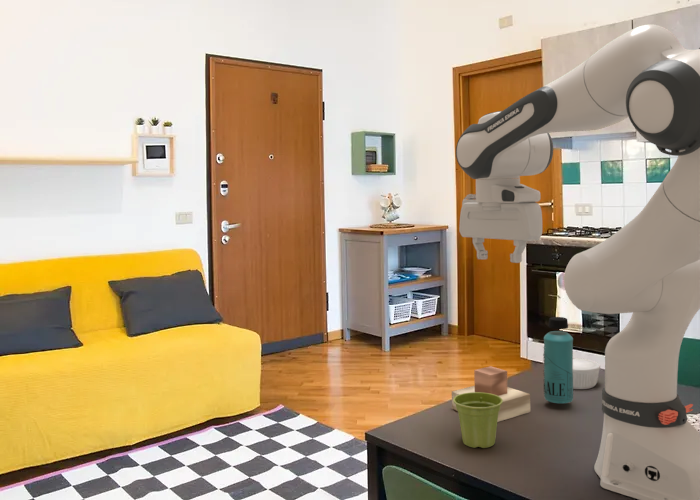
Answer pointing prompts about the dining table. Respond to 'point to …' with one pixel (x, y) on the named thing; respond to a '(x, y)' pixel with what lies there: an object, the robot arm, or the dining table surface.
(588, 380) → the ramekin
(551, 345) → the beverage bottle
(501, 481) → the dining table surface
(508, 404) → the birch base
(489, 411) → the plant pot
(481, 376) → the terracotta cube
